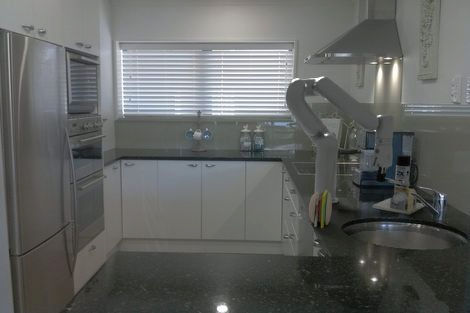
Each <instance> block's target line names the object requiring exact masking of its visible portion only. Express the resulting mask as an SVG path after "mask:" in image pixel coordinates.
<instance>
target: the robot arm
mask: <svg viewBox="0 0 470 313" xmlns="http://www.w3.org/2000/svg"><path fill="white" fill-rule="evenodd" d="M319 96H320V97H321V98H322V99H324V100H325V101H326V102H327V103H329V104H330V105H331V106H332V107H333V108H334V109H336V110H337V111H339V112H340V113H342V114H344V115H346V116H347V117H348V118H350V119H352V120H353V121H354V122H355V123H356V124H357V125H358V127H359V128H361V129H362V130H363V131H367V132H373V131H375V136H374V149H373V154H372V166H373V167H374V169H373V170H375V171H376V182H378V183H386V182H385V178H386V173H387V170H388V169H389V167H392V166H393V156H394V155H393V138H394V124H395V117H394V116H393V115H392V114H375V113H374V112H372V111H371V110H370V109H368V108H367V107H366V106H364V105H363V104H362V103H361V102H359V101H358V100H356V98H354V97H353V96H352V95H351V94H349V93H348V92H347V91H345V90H344V89H343V88H342V87H340V86H339V85H338V84H337V83H336V82H335V81H334V80H332V79H331V78H329V77H328V76H320V77H316V78H306V79H305V78H304V79H303V78H294V79H292V80H291V81H290V82H289V84H288V86H287V89H286V92H285V102H286V106H287V108H288V110H289V112H290V113H291V115H292V116H293V117H294V119H295V120H296V121H297V122H298V124H299V125H300V126H301V129H302V131H303V132H304V133H305V134H306V135H307V137H308V138H309V139H310V141H311V142H312V144H314V146H315V147H316V153H315V154H316V155H315V175H314V193H316V192H318V193H320V196H319V198H320V200H321V194H322V192H325V190H328V192H329V193H330V195H331V199H332V204H337V203H338V202H339V198H338V197H336V188H337V186H336V185H337V168H338V166H337V165H338V155H339V140H338V138H337V137H336V136H335V134H333V133H331V130H329V128H328V127H327V126H326V125H325V124H324V122H323V121H322V119H321V117H319V115H317V114H316V113H315V111H314V110H313V109H312V107H311V106H310V105H309V103H308V101H307V100H306V98H308V97H309V98H311V97H319ZM327 194H328V193H327ZM312 196H313V194H312V195H310V199H311V198H312Z"/></svg>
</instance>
